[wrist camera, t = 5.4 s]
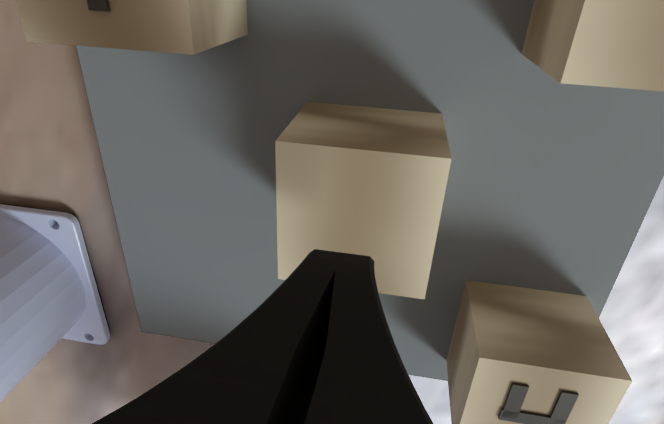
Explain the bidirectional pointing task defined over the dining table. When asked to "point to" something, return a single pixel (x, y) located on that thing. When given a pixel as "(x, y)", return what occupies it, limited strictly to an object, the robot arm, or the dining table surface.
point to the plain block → (363, 190)
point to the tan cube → (135, 23)
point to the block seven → (599, 42)
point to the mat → (378, 92)
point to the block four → (531, 359)
